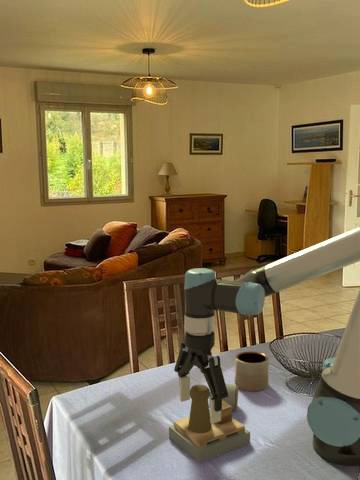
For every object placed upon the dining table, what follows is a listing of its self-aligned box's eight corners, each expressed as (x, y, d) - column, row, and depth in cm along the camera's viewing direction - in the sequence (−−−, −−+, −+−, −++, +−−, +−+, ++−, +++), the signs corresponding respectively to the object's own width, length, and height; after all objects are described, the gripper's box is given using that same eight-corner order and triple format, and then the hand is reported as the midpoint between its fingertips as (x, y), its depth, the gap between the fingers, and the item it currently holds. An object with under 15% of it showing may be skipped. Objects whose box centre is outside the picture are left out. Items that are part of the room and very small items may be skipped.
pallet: (244, 431, 130) (244, 426, 130) (200, 448, 123) (200, 442, 122) (216, 412, 140) (216, 407, 140) (174, 426, 133) (174, 421, 132)
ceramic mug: (237, 415, 145) (237, 389, 144) (208, 413, 146) (209, 387, 145) (238, 398, 155) (238, 375, 154) (211, 397, 156) (212, 373, 155)
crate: (231, 420, 133) (232, 406, 132) (219, 424, 131) (219, 410, 130) (222, 414, 136) (222, 400, 135) (210, 418, 134) (210, 404, 133)
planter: (273, 382, 166) (274, 355, 164) (260, 395, 157) (260, 366, 155) (243, 375, 172) (243, 348, 170) (228, 387, 163) (229, 359, 161)
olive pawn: (204, 435, 125) (204, 394, 124) (183, 429, 129) (183, 388, 127) (215, 425, 130) (216, 384, 129) (195, 419, 134) (195, 379, 132)
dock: (250, 442, 130) (250, 432, 130) (199, 462, 122) (199, 451, 121) (217, 420, 142) (217, 410, 141) (168, 436, 133) (168, 426, 133)
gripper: (243, 342, 117) (242, 427, 120) (184, 315, 138) (184, 388, 141) (217, 348, 113) (217, 436, 116) (161, 320, 134) (161, 395, 137)
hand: (199, 410), depth 129 cm, fingers open, 13 cm apart
